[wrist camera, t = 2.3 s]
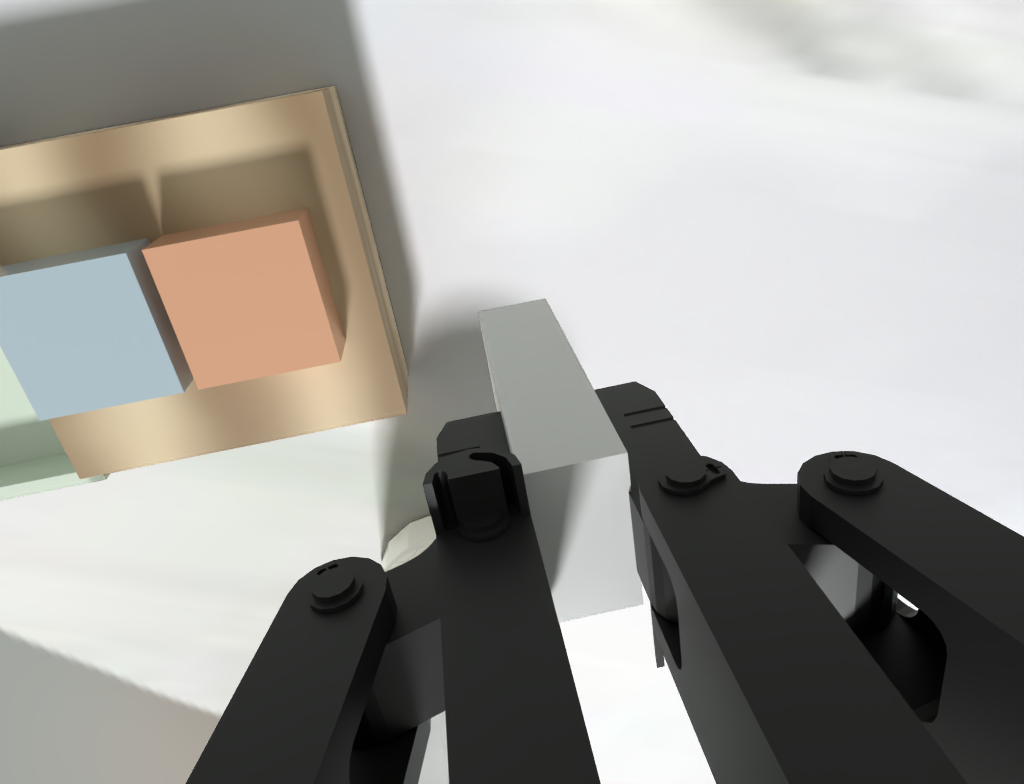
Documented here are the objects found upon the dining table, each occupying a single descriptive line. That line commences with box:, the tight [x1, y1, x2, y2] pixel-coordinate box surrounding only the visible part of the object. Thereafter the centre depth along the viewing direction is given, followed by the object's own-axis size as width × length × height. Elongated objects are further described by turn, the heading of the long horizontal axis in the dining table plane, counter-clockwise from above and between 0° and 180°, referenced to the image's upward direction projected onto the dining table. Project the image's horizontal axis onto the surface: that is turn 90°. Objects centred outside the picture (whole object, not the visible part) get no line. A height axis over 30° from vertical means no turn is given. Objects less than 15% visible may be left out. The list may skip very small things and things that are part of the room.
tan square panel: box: [0, 86, 408, 479], centre depth 27 cm, size 13×12×4 cm
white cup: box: [381, 516, 449, 784], centre depth 32 cm, size 8×8×10 cm
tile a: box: [142, 208, 346, 390], centre depth 24 cm, size 5×5×2 cm
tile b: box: [0, 238, 194, 421], centre depth 24 cm, size 5×5×2 cm
